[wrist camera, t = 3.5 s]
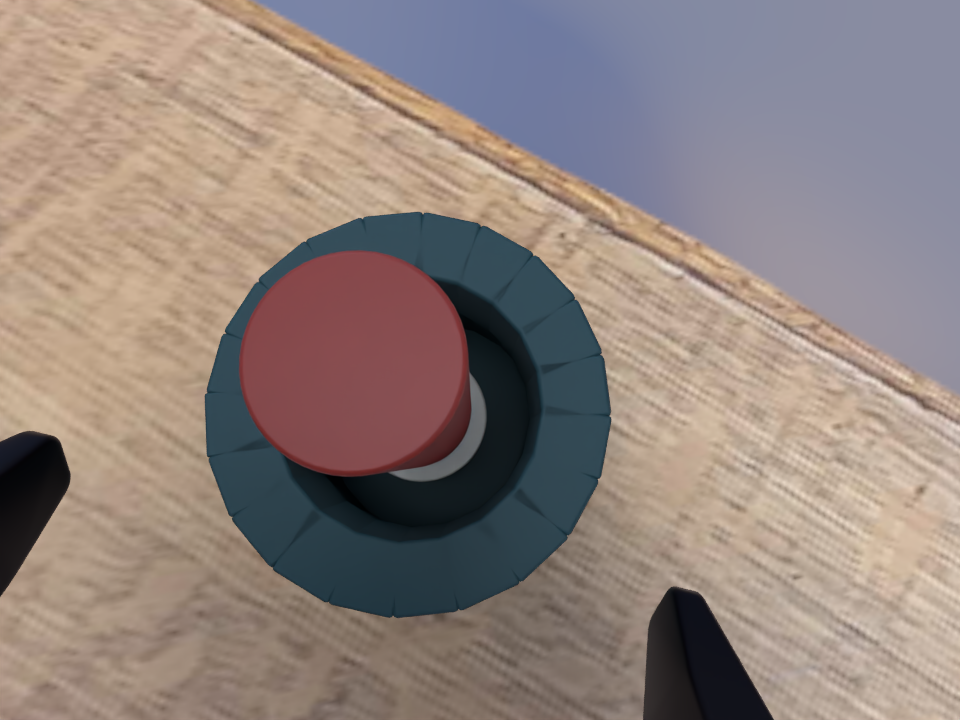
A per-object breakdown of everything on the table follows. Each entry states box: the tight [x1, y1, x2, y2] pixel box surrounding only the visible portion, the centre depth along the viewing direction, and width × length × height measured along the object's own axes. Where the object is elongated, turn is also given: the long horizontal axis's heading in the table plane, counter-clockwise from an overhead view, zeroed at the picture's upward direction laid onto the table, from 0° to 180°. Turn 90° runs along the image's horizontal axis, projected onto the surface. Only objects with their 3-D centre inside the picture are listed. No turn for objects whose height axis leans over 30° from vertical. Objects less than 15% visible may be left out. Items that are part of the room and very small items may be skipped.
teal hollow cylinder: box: [205, 212, 611, 618], centre depth 16 cm, size 7×7×9 cm
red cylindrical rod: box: [239, 250, 487, 482], centre depth 13 cm, size 3×3×13 cm
